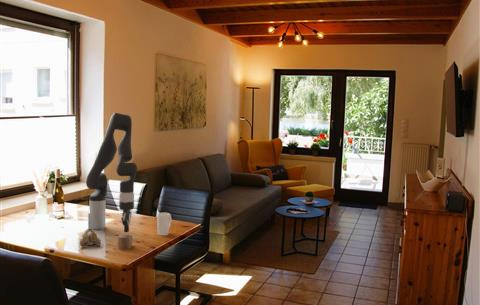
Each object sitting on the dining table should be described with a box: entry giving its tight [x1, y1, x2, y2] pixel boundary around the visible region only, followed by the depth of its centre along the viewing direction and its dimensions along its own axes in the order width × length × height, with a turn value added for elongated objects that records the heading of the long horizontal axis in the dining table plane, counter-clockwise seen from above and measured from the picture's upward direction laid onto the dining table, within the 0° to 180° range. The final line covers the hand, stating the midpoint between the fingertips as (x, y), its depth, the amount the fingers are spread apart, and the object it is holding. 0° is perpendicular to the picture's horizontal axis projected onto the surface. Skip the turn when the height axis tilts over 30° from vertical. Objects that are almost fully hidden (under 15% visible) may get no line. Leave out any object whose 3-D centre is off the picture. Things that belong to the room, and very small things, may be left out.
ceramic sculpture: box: [79, 227, 102, 247], centre depth 241 cm, size 11×9×15 cm
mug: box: [156, 212, 173, 236], centre depth 265 cm, size 10×7×12 cm, turn 143°
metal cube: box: [117, 233, 133, 250], centre depth 239 cm, size 6×6×6 cm
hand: (126, 231), depth 241 cm, fingers closed
